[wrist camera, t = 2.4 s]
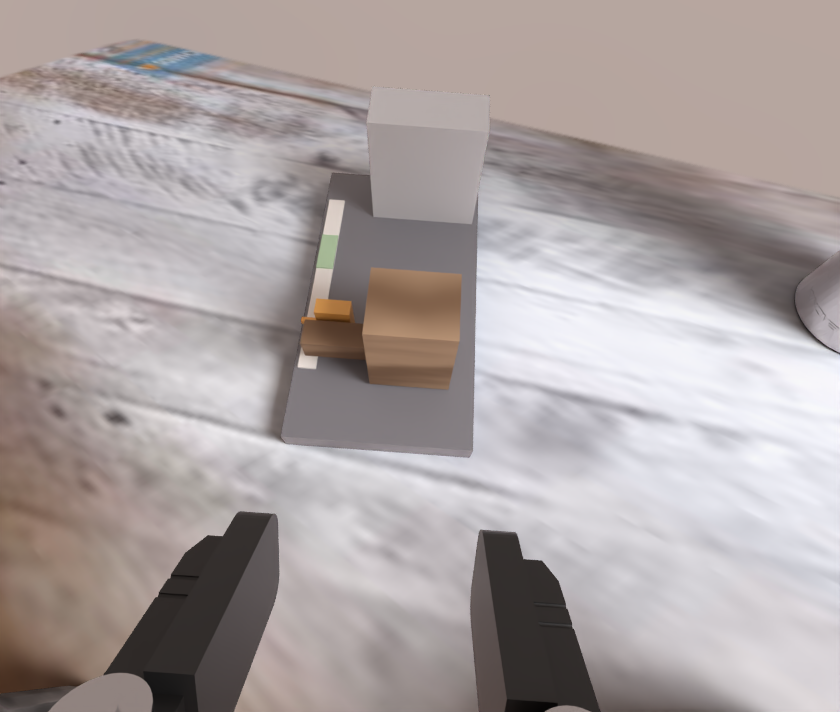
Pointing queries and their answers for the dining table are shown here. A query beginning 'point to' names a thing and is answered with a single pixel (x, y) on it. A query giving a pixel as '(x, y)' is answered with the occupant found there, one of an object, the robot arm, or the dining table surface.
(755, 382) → the dining table surface
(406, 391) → the gauge base
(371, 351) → the brown block
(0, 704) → the beverage cup
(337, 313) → the pointer
